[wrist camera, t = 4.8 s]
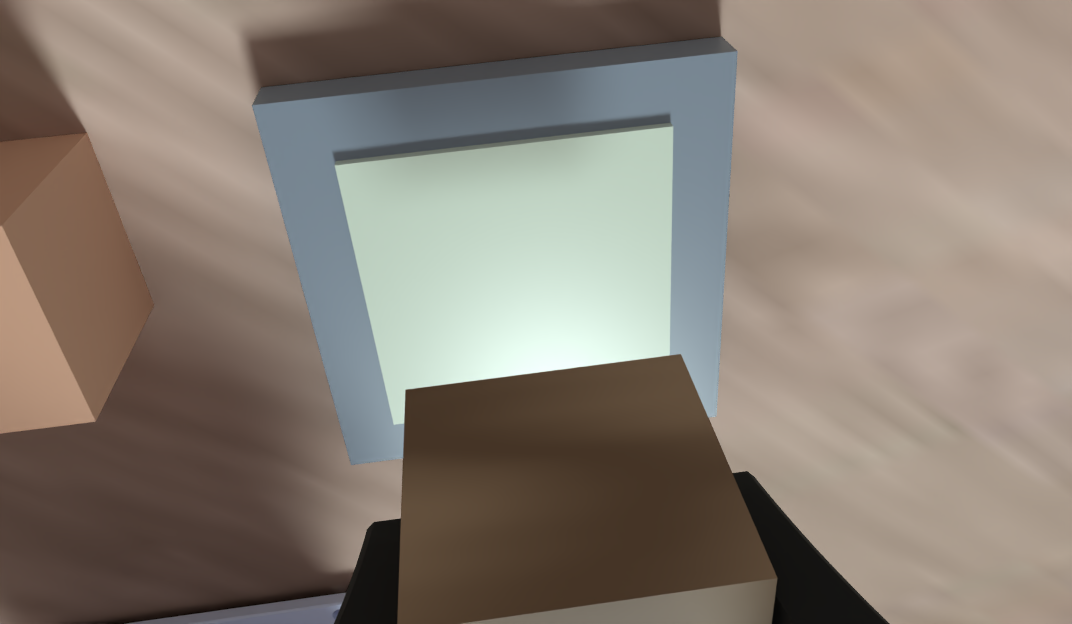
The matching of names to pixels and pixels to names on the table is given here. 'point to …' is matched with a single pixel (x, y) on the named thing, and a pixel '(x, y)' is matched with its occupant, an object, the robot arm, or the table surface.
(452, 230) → the baseplate
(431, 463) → the brass cube
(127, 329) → the terracotta cube
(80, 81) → the table surface
